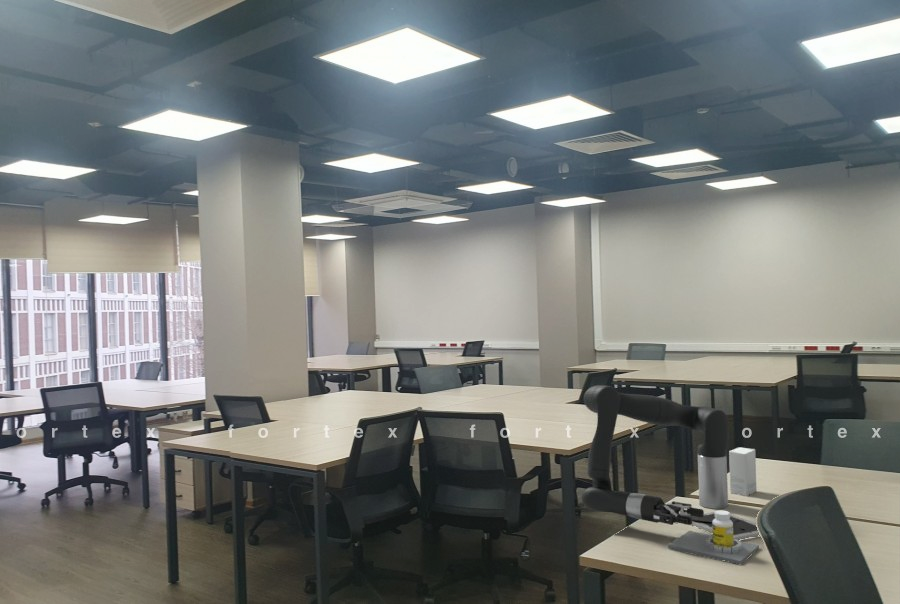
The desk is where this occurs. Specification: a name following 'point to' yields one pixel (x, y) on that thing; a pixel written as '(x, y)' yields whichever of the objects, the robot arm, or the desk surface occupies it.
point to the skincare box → (742, 471)
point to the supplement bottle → (722, 529)
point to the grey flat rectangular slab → (697, 545)
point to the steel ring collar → (724, 549)
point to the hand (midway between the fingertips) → (697, 517)
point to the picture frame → (740, 525)
